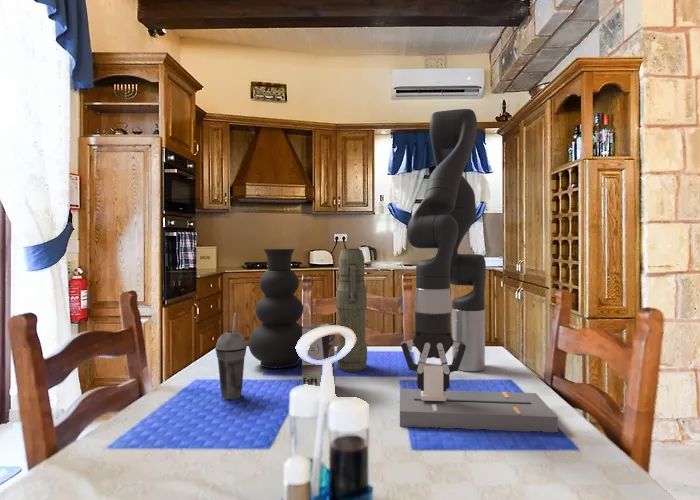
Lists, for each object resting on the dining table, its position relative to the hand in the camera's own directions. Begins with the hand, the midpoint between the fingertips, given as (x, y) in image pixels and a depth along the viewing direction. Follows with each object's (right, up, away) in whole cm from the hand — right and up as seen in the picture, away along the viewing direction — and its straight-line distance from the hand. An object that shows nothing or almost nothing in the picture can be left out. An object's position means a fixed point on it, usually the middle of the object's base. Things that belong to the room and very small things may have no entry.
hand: (433, 389), depth 95 cm
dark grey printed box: (-25, -5, +17) cm, 31 cm away
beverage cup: (-46, -6, +12) cm, 48 cm away
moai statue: (-17, -5, +37) cm, 41 cm away
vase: (-39, -5, +41) cm, 56 cm away
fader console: (+8, -5, -1) cm, 10 cm away
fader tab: (0, -2, 0) cm, 2 cm away
